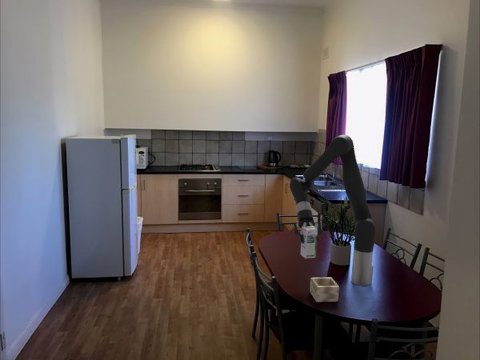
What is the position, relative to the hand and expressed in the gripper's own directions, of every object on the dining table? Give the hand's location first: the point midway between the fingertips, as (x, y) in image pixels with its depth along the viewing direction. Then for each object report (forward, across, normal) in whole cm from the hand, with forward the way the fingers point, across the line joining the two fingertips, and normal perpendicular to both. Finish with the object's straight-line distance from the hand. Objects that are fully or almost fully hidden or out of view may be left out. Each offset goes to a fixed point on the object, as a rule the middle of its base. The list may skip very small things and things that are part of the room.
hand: (310, 242), depth 185 cm
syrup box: (+4, 0, +6) cm, 8 cm away
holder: (+23, +4, +8) cm, 25 cm away
